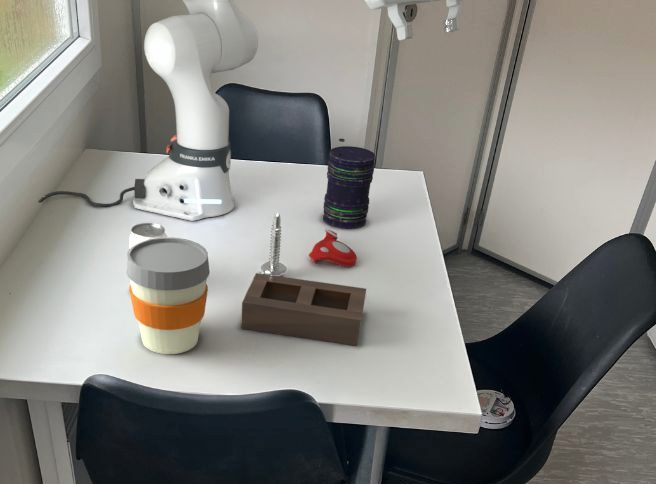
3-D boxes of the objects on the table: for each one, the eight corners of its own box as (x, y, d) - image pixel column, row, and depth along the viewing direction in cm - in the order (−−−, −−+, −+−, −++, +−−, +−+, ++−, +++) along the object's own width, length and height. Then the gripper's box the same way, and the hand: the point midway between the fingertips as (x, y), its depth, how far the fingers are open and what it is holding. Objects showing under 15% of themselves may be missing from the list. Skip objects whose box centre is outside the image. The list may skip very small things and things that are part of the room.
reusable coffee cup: (142, 366, 111) (137, 278, 102) (122, 326, 120) (116, 242, 111) (220, 352, 115) (221, 266, 107) (194, 314, 125) (194, 232, 116)
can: (139, 303, 126) (136, 239, 119) (127, 287, 131) (123, 224, 124) (174, 297, 129) (173, 234, 122) (161, 281, 134) (159, 219, 127)
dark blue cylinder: (355, 210, 167) (366, 130, 157) (373, 227, 160) (386, 145, 149) (315, 213, 164) (323, 132, 154) (331, 231, 157) (341, 147, 146)
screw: (276, 270, 140) (290, 280, 137) (255, 275, 138) (269, 286, 135) (281, 205, 132) (296, 215, 129) (258, 210, 130) (273, 219, 127)
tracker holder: (368, 258, 144) (331, 257, 138) (358, 276, 146) (321, 276, 140) (336, 223, 150) (299, 220, 144) (327, 241, 153) (290, 239, 147)
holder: (356, 346, 119) (360, 319, 117) (240, 328, 122) (242, 302, 119) (362, 313, 128) (366, 288, 125) (254, 297, 131) (255, 272, 128)
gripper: (454, -68, 111) (463, 31, 116) (349, -59, 102) (363, 47, 107) (486, -81, 106) (493, 23, 111) (378, -73, 97) (392, 39, 102)
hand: (429, 35), depth 109 cm, fingers open, 8 cm apart
